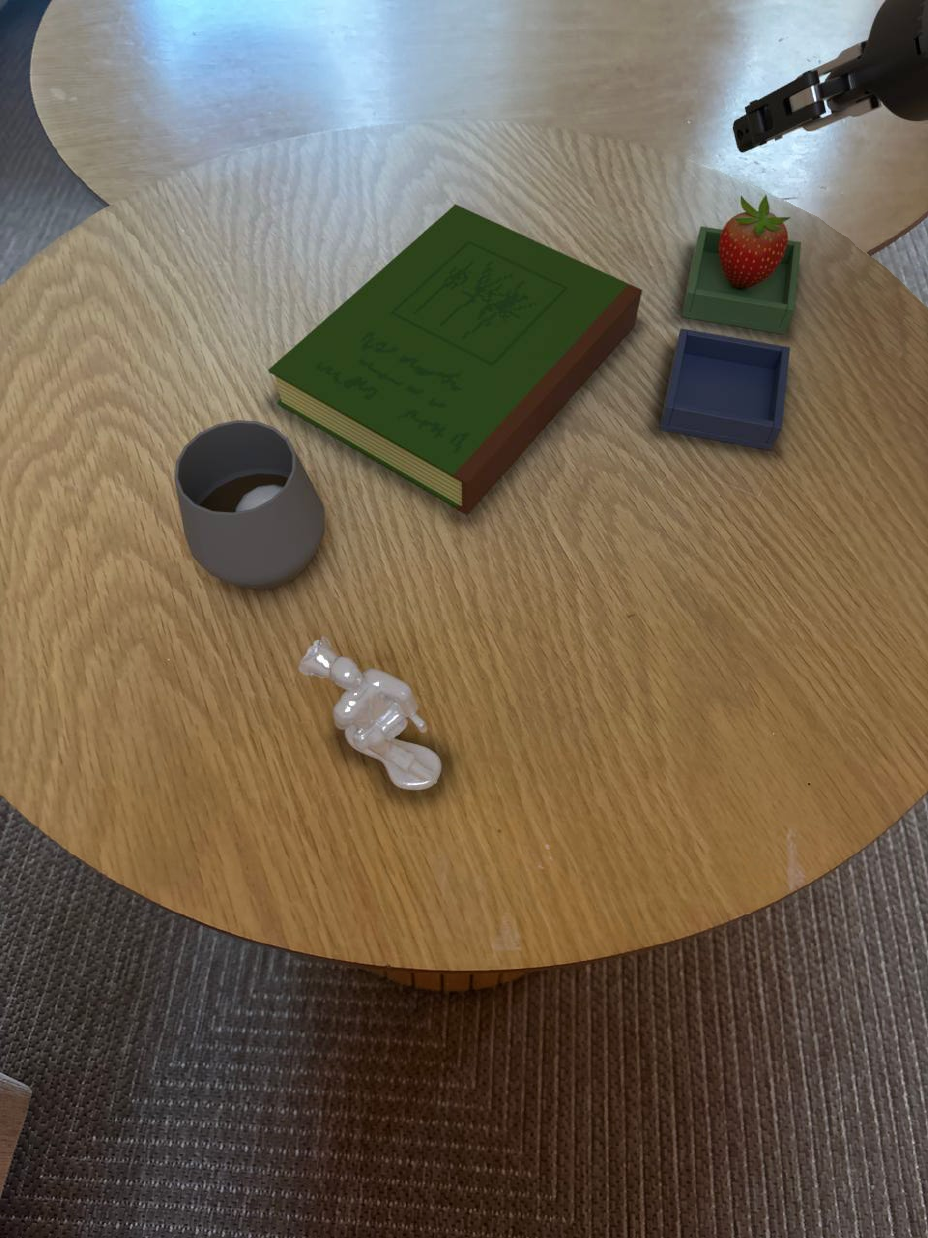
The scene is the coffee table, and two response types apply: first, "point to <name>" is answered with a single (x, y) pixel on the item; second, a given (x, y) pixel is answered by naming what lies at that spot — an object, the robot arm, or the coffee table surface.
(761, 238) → the fruit
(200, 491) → the cup
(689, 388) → the blue tray
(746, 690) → the coffee table surface
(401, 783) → the figurine
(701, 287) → the green tray
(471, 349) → the hardcover book
